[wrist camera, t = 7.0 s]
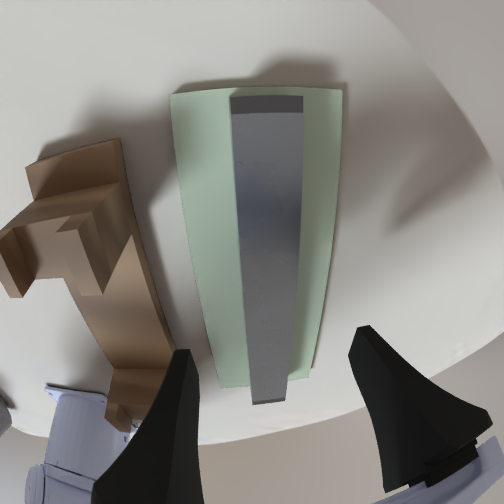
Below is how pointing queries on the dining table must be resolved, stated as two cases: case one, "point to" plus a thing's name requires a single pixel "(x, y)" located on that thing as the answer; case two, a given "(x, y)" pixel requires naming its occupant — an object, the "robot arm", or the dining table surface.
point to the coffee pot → (4, 417)
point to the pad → (225, 226)
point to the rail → (268, 230)
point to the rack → (94, 267)
